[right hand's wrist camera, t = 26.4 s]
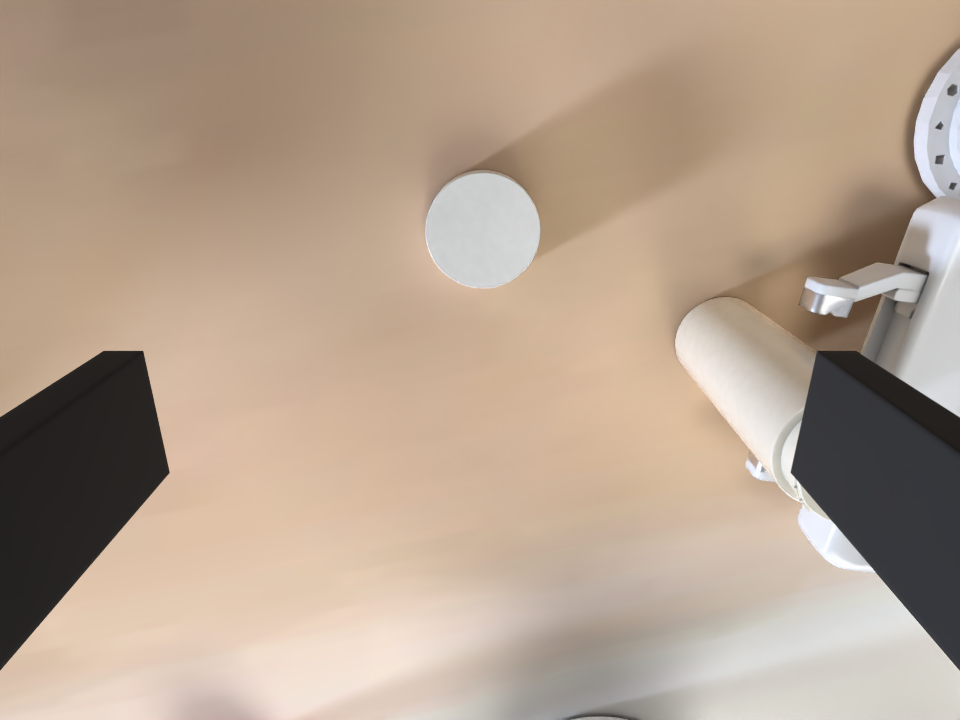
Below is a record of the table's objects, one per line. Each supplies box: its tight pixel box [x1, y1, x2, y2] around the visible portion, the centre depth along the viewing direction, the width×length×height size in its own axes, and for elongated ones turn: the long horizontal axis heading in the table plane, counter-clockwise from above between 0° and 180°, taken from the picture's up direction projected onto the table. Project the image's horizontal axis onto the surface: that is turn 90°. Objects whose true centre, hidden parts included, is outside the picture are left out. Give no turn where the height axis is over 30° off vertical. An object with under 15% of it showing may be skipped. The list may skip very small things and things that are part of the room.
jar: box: [675, 297, 831, 521], centre depth 31 cm, size 5×5×15 cm
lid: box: [426, 170, 541, 288], centre depth 35 cm, size 6×6×2 cm
